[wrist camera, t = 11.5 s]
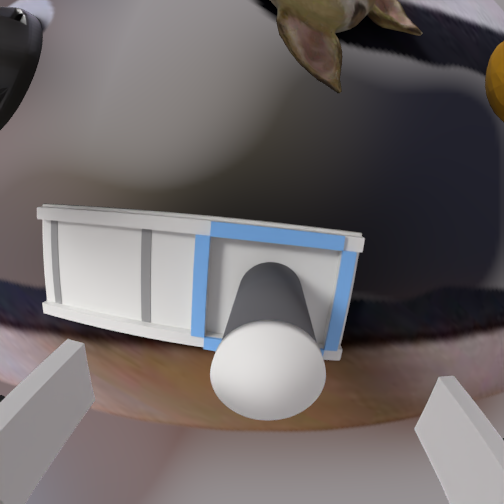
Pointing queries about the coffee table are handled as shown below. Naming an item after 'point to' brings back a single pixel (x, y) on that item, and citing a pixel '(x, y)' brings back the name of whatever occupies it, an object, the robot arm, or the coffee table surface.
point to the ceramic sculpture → (332, 30)
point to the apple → (496, 81)
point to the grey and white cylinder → (268, 348)
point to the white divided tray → (186, 271)
